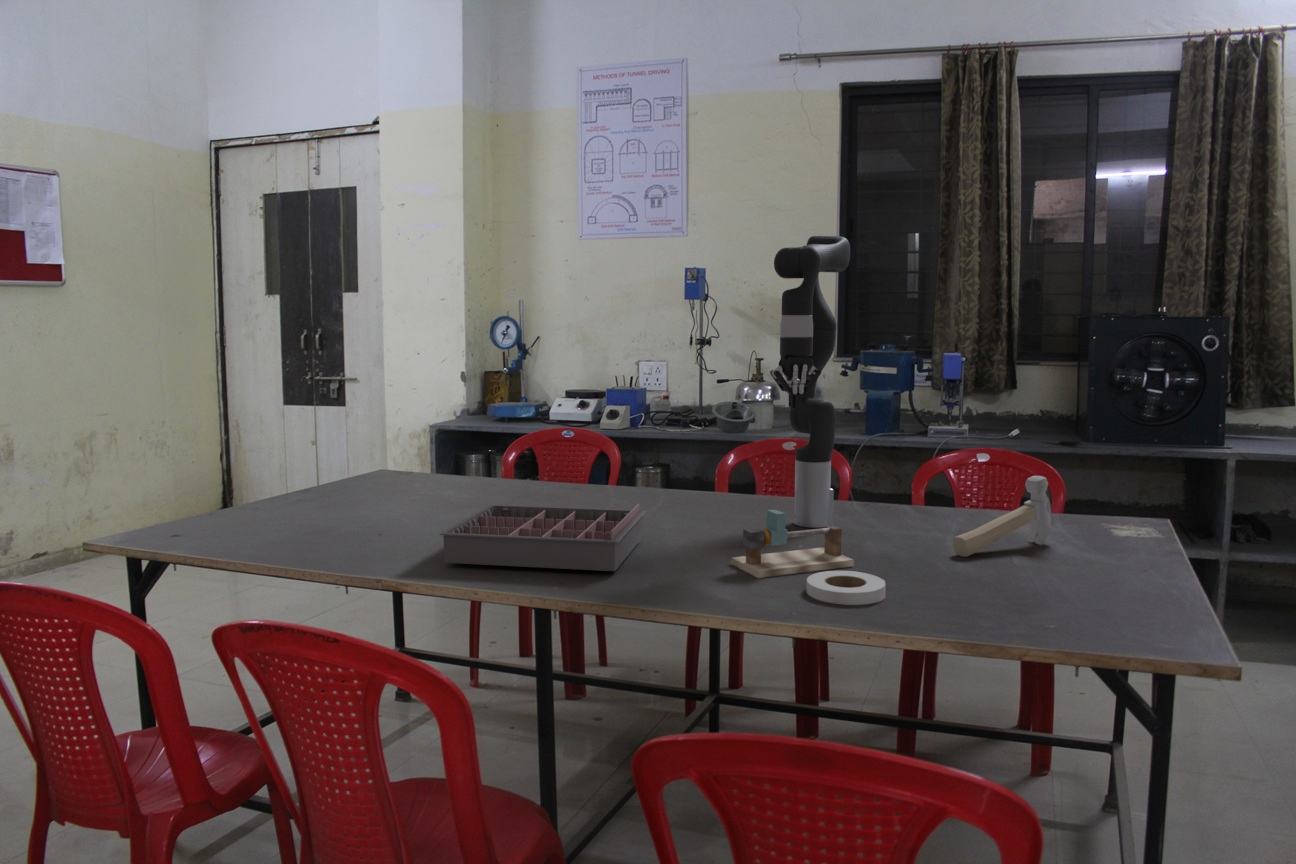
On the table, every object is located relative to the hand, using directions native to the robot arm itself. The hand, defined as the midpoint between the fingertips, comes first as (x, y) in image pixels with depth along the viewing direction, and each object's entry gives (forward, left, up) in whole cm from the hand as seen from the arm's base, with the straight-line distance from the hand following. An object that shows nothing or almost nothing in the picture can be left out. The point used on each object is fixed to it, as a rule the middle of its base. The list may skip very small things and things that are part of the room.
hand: (795, 409), depth 218 cm
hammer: (-46, +20, -33) cm, 60 cm away
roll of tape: (+9, +35, -34) cm, 49 cm away
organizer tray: (+55, -17, -33) cm, 67 cm away
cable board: (+8, +13, -33) cm, 36 cm away
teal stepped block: (+12, +13, -28) cm, 33 cm away
